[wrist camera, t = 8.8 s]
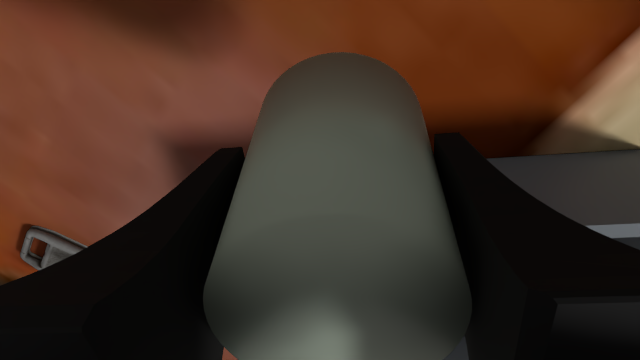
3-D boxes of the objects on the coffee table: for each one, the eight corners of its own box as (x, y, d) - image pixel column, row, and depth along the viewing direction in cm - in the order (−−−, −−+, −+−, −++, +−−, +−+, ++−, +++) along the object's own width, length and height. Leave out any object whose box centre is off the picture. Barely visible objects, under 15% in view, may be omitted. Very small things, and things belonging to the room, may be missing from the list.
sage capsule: (423, 43, 13) (482, 204, 7) (422, 190, 16) (464, 388, 10) (244, 61, 13) (168, 223, 8) (274, 200, 16) (235, 392, 11)
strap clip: (24, 249, 29) (-21, 305, 25) (34, 217, 27) (-13, 273, 24) (157, 303, 31) (132, 362, 28) (174, 277, 29) (149, 336, 26)
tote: (644, 148, 22) (710, 220, 18) (585, 332, 29) (621, 411, 25) (271, 171, 24) (253, 240, 20) (306, 338, 32) (299, 412, 27)
